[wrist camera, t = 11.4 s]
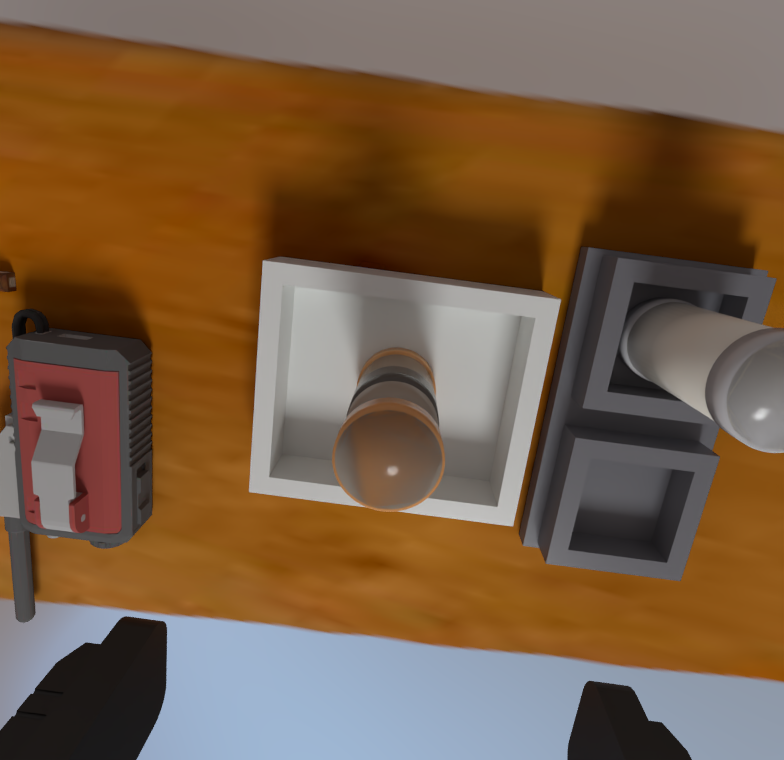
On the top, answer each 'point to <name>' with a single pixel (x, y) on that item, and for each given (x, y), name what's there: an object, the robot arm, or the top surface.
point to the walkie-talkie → (73, 442)
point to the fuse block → (627, 423)
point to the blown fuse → (391, 434)
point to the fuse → (711, 366)
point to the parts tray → (404, 330)
